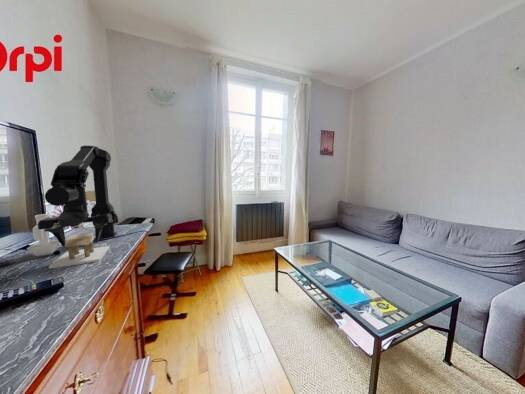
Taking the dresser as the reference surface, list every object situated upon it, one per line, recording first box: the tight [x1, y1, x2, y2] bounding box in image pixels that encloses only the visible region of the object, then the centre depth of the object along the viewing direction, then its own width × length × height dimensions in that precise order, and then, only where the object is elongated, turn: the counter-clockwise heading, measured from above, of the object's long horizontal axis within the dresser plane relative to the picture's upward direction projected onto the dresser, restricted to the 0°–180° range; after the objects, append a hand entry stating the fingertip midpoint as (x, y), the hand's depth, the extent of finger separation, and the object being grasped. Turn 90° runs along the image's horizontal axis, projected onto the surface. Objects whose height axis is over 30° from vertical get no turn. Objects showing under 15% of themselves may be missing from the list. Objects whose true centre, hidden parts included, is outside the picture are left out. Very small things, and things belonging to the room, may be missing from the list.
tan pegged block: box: [65, 232, 95, 259], centre depth 73 cm, size 6×6×7 cm
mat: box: [48, 245, 110, 270], centre depth 73 cm, size 13×13×1 cm
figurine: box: [26, 213, 61, 257], centre depth 76 cm, size 7×9×15 cm
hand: (80, 244), depth 72 cm, fingers open, 9 cm apart
